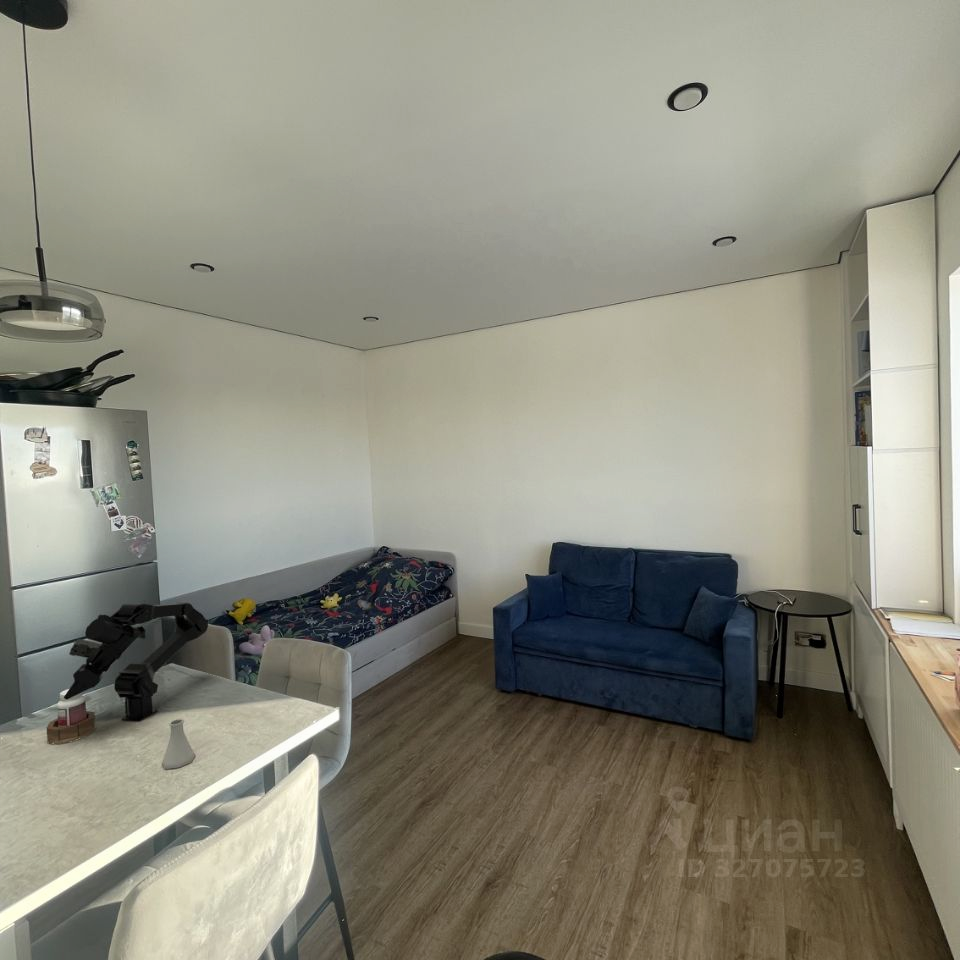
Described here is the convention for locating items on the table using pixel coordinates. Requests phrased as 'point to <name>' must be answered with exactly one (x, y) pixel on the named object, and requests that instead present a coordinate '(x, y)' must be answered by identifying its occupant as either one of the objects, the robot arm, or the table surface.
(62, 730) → the bottle holder
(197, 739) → the table surface
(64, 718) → the pill bottle
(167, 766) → the flask
